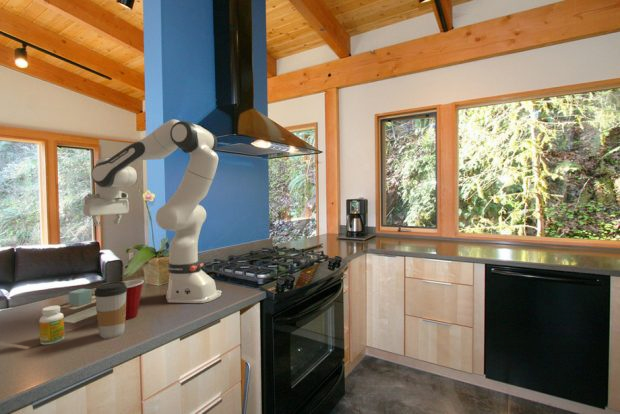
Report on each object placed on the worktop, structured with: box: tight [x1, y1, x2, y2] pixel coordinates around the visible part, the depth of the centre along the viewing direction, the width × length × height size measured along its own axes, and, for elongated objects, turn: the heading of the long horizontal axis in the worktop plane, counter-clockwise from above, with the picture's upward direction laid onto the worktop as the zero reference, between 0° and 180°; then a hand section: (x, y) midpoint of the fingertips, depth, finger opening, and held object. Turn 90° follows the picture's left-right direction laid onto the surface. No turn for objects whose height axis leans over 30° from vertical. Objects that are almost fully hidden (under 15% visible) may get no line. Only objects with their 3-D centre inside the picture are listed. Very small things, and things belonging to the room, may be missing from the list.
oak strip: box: [60, 282, 106, 310], centre depth 123 cm, size 8×20×5 cm, turn 164°
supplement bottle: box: [38, 305, 65, 346], centre depth 89 cm, size 5×5×10 cm
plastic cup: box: [123, 279, 145, 321], centre depth 106 cm, size 11×11×12 cm
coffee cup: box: [93, 281, 127, 339], centre depth 93 cm, size 8×8×15 cm
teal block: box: [68, 288, 92, 306], centre depth 118 cm, size 5×5×5 cm
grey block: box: [64, 305, 97, 324], centre depth 111 cm, size 8×20×5 cm, turn 164°
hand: (107, 224), depth 139 cm, fingers open, 8 cm apart
